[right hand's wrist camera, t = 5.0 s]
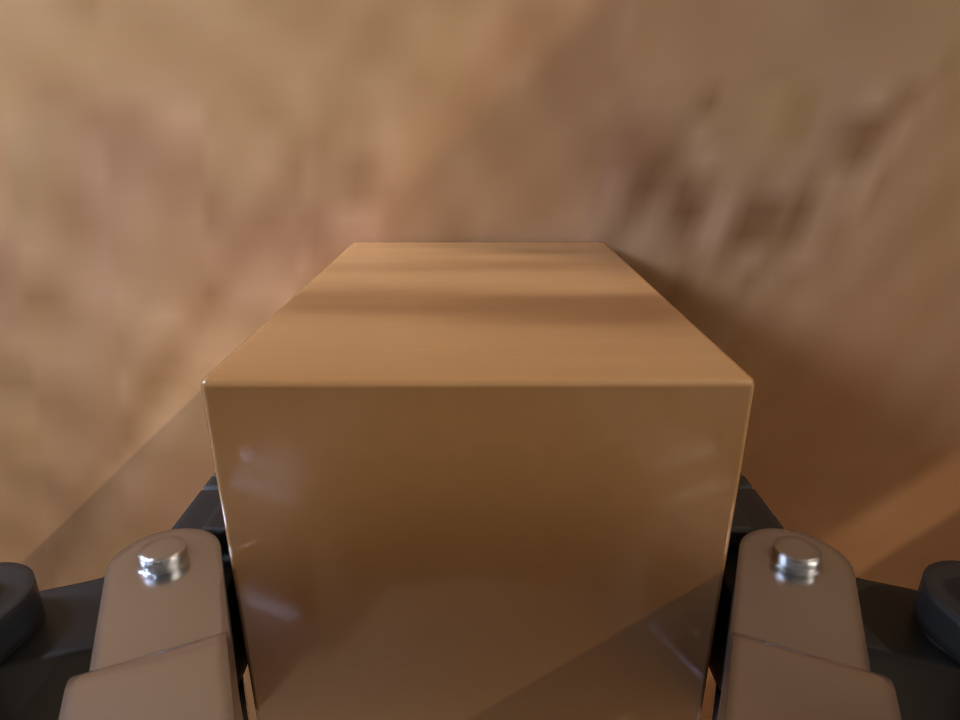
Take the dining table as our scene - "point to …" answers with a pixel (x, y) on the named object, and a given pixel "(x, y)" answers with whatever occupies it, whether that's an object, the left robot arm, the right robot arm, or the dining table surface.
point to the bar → (478, 488)
